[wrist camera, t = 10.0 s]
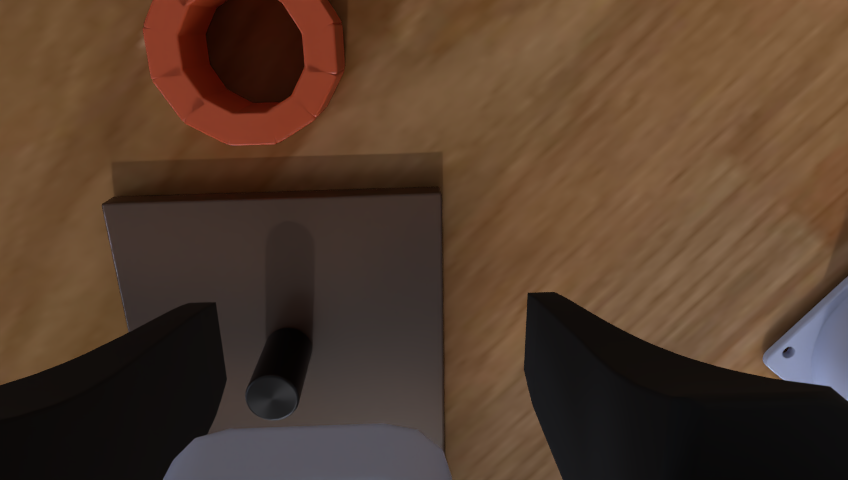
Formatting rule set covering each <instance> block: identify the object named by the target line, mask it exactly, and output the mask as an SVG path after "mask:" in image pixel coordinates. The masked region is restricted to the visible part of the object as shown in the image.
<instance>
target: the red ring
mask: <svg viewBox="0 0 848 480" xmlns="http://www.w3.org/2000/svg"><path fill="white" fill-rule="evenodd" d="M226 1H227V0H153V1H152V3H151V6H150V9H149V11H148V14H147V17H146V19H145V22H144V26H145V27H144V28H143V34H144V40H145V46H146V51H147V57H148V63H149V69H150V75H151V78H152V79H153V83H154V84H155V85H156V87H157V88H158V89H159V91H160V92H161V93H162V95H163V96H164V97H165V99H166V100H167V101H168V103H169V104H170V105H171V107H172V108H173V109H174V111H175V112H176V113H177V115H178V116H179V117H180V119H181V120H182V121H184V123H185V124H187V125H189V126H191V127H193V128H195V129H197V130H199V131H201V132H203V133H205V134H207V135H209V136H211V137H213V138H215V139H217V140H219V141H221V142H223V143H225V144H227V145H229V144H230V145H231V146H235V145H269V144H277V143H279V142H282V141H283V140H285V139H286V138H288V137H289V136H291V135H293V134H294V133H296V132H297V131H299V130H300V129H302V128H303V127H305V126H307V125H308V124H310V123H311V122H313V121H314V120H315V119H316V118H317V117H318V116H319V115H320V114H321V113H322V111H323V110H324V109H325V108H326V107H327V106H328V104H329V102H330V100H331V98H332V96H333V94H334V92H335V90H336V87H337V85H338V83H339V81H340V79H341V77H342V75H343V73H344V68H345V57H344V41H343V26H342V24H341V23H342V22H341V20H340V18H339V17H338V15H337V13H336V12H335V10H334V9H333V7H332V5H331V4H330V2H329V0H278V1H280V2H282V3H283V5H284V6H285V8H286V10H287V11H288V13H289V14H290V16H291V17H292V19H293V20H294V22H295V24H296V25H297V27H298V28H299V30H300V31H301V33H302V42H303V54H304V66H305V67H304V69H303V71H302V73H301V75H300V77H299V80H298V82H297V84H296V86H295V88H294V90H293V93H292V95H291V96H289V97H288V98H286V99H285V100H283V101H282V102H264V103H253V102H251V101H249V100H247V99H245V98H243V97H241V96H239V95H237V94H236V93H234V92H232V91H230V90H228V89H227V88H226V87H225V85H224V84H223V83H222V81H221V80H220V78H219V77H218V75H217V74H216V73H215V71H214V70H213V68H212V67H211V66H210V62H209V55H208V48H207V40H206V32H207V30H208V27H209V25H210V23H211V20H212V18H213V15H214V13H215V10H216V8H217V7H219V6H220V5H222V4H223V3H225V2H226Z"/></svg>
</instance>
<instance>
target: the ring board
mask: <svg viewBox="0 0 848 480" xmlns="http://www.w3.org/2000/svg"><path fill="white" fill-rule="evenodd" d="M102 209H103V213H104V218H105V223H106V228H107V232H108V237H109V242H110V246H111V251H112V256H113V261H114V265H115V270H116V275H117V279H118V284H119V289H120V294H121V298H122V303H123V308H124V312H125V317H126V322H127V327H128V331H129V332H131V331H132V330H134V329H136V328H138V327H140V326H142V325H144V324H146V323H148V322H149V321H151V320H153V319H155V318H157V317H159V316H161V315H163V314H165V313H167V312H169V311H171V310H173V309H175V308H177V307H179V306H182V305H184V304H187V303H201V302H216V306H217V313H218V320H219V327H220V334H221V341H222V348H223V355H224V362H225V368H226V375H227V382H226V385H225V389H224V392H223V396H222V399H221V402H220V405H219V408H218V411H217V415H216V417H215V419H214V421H213V424H212V426H211V428H210V430H209V432H208V434H212V433H216V432H220V431H223V430H227V429H241V428H268V427H296V426H324V425H351V424H379V423H383V424H389V425H394V426H399V427H405V428H410V429H416V430H418V431H420V432H421V433H422V434H423V435H425V436H426V437H427V438H428V439H430V440H431V441H432V442H434V443H435V444H436V445H437V446H439V447H440V448H441V449H442V450H443V452H444V455H445V451H444V361H443V270H442V194H441V191H440V188H439V187H410V188H378V189H346V190H314V191H282V192H250V193H218V194H186V195H154V196H122V197H113V198H111V199H109V200H108V201H106V202H104V203H103V204H102ZM208 434H207V435H208Z"/></svg>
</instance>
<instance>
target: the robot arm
mask: <svg viewBox="0 0 848 480" xmlns="http://www.w3.org/2000/svg"><path fill="white" fill-rule="evenodd" d="M787 347H789V349H788V350H787V351H786V352H785V353H783V351H784V349H786V348H787ZM763 362H764V364H765V365H766V366H767V367H768V368H769V369H771V370H772V371H773V372H774V373H776V374H777V375H778V376H779V377H780V378H782V379H783V380H779V379H772V378H767V377H762V376H757V375H752V374H747V373H742V372H738V371H733V370H729V369H725V368H721V367H717V366H714V365H711V364H707V363H704V362H700V361H697V360H694V359H690V358H687V357H684V356H681V355H678V354H676V353H673V352H671V351H668V350H665V349H663V348H660V347H658V346H655V345H653V344H650V343H648V342H646V341H644V340H641V339H639V338H637V337H635V336H633V335H631V334H629V333H627V332H625V331H623V330H621V329H619V328H617V327H615V326H614V325H612V324H610V323H608V322H606V321H605V320H603V319H601V318H599V317H598V316H596V315H594V314H592V313H591V312H589V311H587V310H586V309H584V308H582V307H581V306H579V305H577V304H576V303H574V302H572V301H570V300H569V299H567V298H565V297H563V296H562V295H559V294H557V293H555V292H541V293H528V299H527V319H526V340H525V360H524V372H525V376H526V380H527V385H528V389H529V393H530V397H531V401H532V404H533V407H534V410H535V412H536V415H537V417H538V420H539V422H540V425H541V427H542V430H543V432H544V435H545V437H546V440H547V442H548V444H549V447H550V449H551V452H552V454H553V457H554V459H555V461H556V464H557V466H558V469H559V471H560V474H561V476H562V479H563V480H848V276H847V277H846V278H845V279H844V280H843V281H842V282H841V283H840V284H839V285H837V286H836V287H835V288H834V289H833V290H832V291H831V292H830V293H829V294H828V295H827V296H825V297H824V298H823V299H822V300H821V301H820V302H819V303H818V304H817V305H816V306H815V307H813V308H812V309H811V310H810V311H809V312H808V313H807V314H806V315H805V316H804V317H803V318H802V319H800V320H799V321H798V322H797V323H796V324H795V325H794V326H793V327H792V328H791V329H790V330H788V331H787V332H786V333H785V334H784V335H783V336H782V337H781V338H780V339H779V340H778V341H776V342H775V343H774V344H773V345H772V346H771V347H770V348H769V349H768V350H767V351H766V352H765V353H764V355H763ZM226 382H227V375H226V368H225V362H224V355H223V348H222V341H221V334H220V327H219V320H218V313H217V306H216V302H201V303H187V304H184V305H182V306H179V307H177V308H175V309H173V310H171V311H169V312H167V313H165V314H163V315H161V316H159V317H157V318H155V319H153V320H151V321H149V322H148V323H146V324H144V325H142V326H140V327H138V328H136V329H134V330H132V331H131V332H129V333H127V334H125V335H123V336H121V337H119V338H117V339H115V340H113V341H111V342H109V343H107V344H105V345H102V346H100V347H98V348H96V349H94V350H92V351H90V352H88V353H86V354H84V355H82V356H79V357H77V358H75V359H72V360H70V361H68V362H65V363H63V364H60V365H58V366H55V367H53V368H50V369H47V370H45V371H42V372H40V373H37V374H34V375H31V376H28V377H25V378H22V379H19V380H16V381H13V382H9V383H6V384H3V385H0V480H452V476H451V473H450V470H449V467H448V464H447V461H446V458H445V455H444V452H443V450H442V449H441V448H440V447H439V446H437V445H436V444H435V443H434V442H432V441H431V440H430V439H428V438H427V437H426V436H425V435H423V434H422V433H421V432H420V431H418V430H416V429H410V428H405V427H399V426H394V425H389V424H383V423H379V424H351V425H324V426H296V427H268V428H241V429H227V430H223V431H220V432H216V433H212V434H208V432H209V430H210V428H211V426H212V424H213V421H214V419H215V417H216V415H217V411H218V408H219V405H220V402H221V399H222V396H223V392H224V389H225V385H226ZM207 434H208V435H207Z"/></svg>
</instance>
